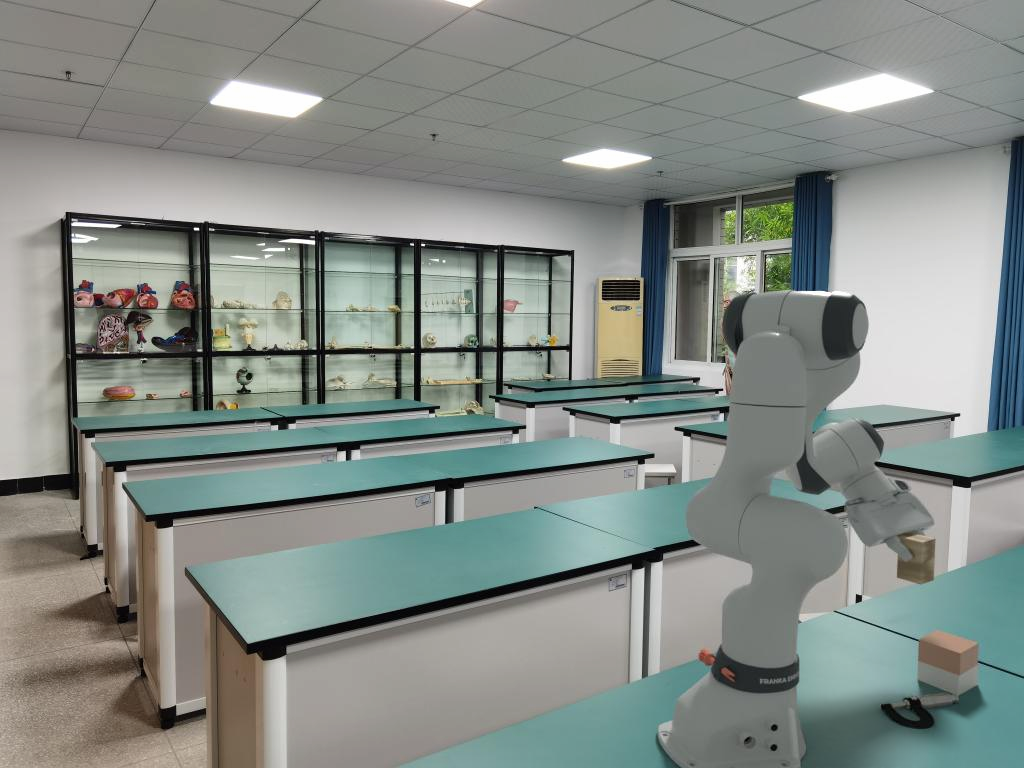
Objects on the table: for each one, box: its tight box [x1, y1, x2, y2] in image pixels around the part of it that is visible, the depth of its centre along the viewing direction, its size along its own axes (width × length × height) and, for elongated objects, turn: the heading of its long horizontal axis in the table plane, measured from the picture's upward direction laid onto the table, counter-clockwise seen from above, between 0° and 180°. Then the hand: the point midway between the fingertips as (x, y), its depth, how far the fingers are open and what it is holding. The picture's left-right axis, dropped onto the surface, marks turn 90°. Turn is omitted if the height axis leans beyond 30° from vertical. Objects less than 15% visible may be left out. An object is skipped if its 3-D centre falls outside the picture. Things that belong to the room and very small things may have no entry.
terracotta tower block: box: [917, 629, 979, 676], centre depth 129 cm, size 7×7×4 cm
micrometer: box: [879, 692, 960, 730], centre depth 119 cm, size 15×7×2 cm, turn 102°
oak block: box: [896, 533, 936, 585], centre depth 135 cm, size 4×4×8 cm
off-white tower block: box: [916, 660, 979, 697], centre depth 130 cm, size 7×7×4 cm
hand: (919, 557), depth 135 cm, fingers closed on oak block, 4 cm apart
